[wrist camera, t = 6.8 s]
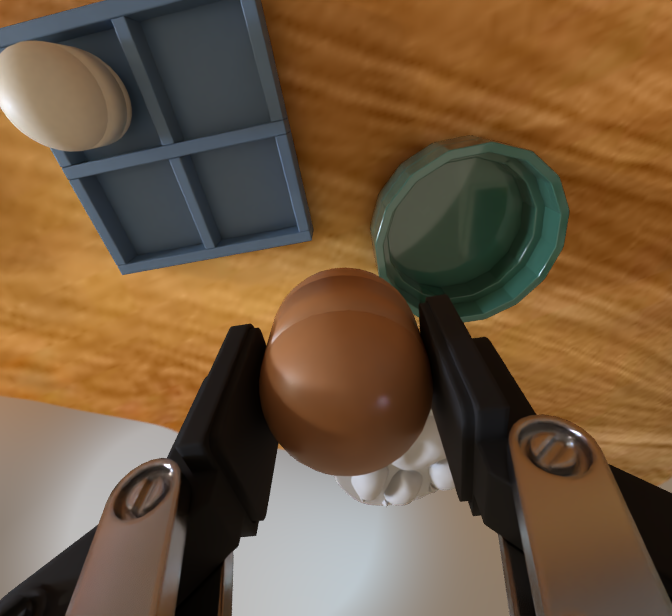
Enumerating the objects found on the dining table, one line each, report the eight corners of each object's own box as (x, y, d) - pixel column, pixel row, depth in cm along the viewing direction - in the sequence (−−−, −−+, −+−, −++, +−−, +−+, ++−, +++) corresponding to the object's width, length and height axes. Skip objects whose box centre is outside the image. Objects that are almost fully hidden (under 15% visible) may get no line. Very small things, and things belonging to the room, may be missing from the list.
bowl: (359, 155, 21) (364, 167, 18) (543, 118, 20) (585, 123, 17) (380, 304, 27) (386, 334, 24) (525, 281, 26) (553, 309, 23)
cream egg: (47, 61, 19) (-68, 47, 13) (122, 42, 18) (35, 20, 13) (92, 149, 21) (9, 167, 16) (160, 133, 20) (99, 146, 15)
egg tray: (15, 38, 18) (-18, 32, 17) (255, -25, 17) (246, -39, 15) (136, 263, 25) (121, 275, 24) (313, 230, 24) (312, 240, 22)
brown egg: (266, 257, 11) (206, 395, 6) (399, 234, 11) (457, 362, 6) (297, 358, 14) (273, 522, 8) (408, 343, 13) (456, 505, 8)
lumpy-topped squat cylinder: (471, 351, 30) (516, 436, 22) (411, 444, 36) (430, 534, 29) (356, 322, 28) (363, 404, 21) (315, 425, 35) (309, 515, 27)
